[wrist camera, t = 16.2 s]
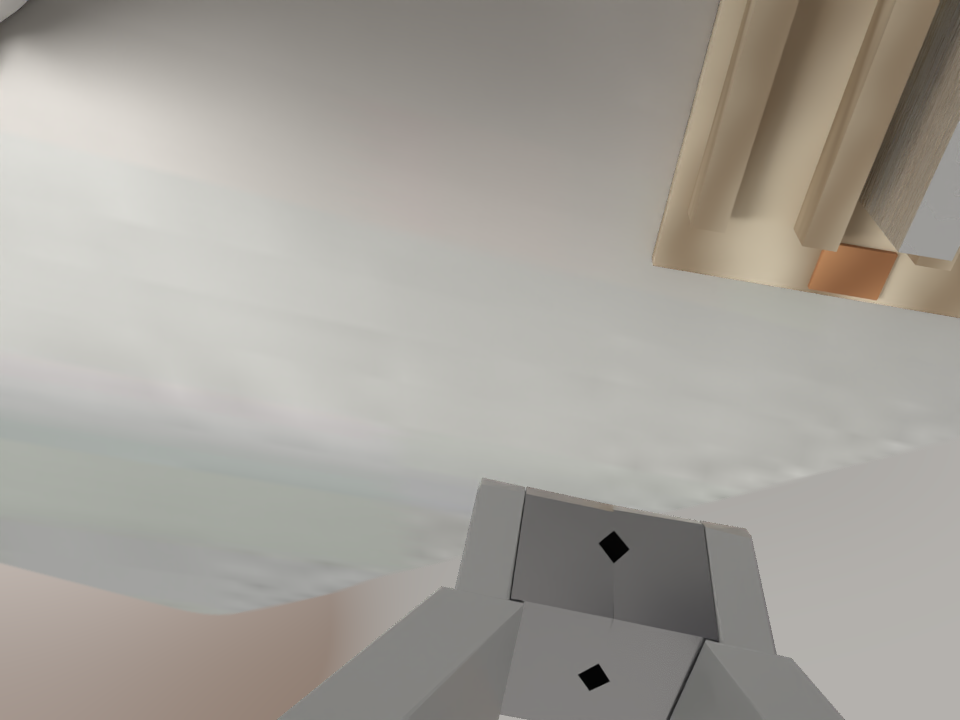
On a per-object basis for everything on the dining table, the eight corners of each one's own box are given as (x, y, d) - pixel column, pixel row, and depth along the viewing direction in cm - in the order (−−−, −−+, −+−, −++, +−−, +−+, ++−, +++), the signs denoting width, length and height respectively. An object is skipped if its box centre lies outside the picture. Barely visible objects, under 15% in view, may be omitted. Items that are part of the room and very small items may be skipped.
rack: (652, 257, 38) (654, 283, 35) (807, -327, 26) (827, -349, 23) (1021, 319, 36) (1051, 352, 34) (1366, -261, 24) (1451, -277, 22)
